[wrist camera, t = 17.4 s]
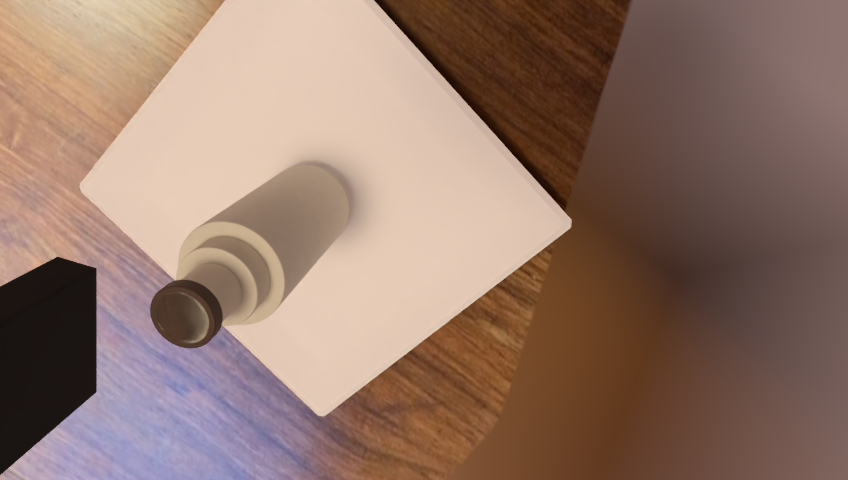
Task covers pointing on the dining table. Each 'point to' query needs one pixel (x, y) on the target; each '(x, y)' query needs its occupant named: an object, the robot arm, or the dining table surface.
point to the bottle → (251, 255)
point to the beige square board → (344, 159)
